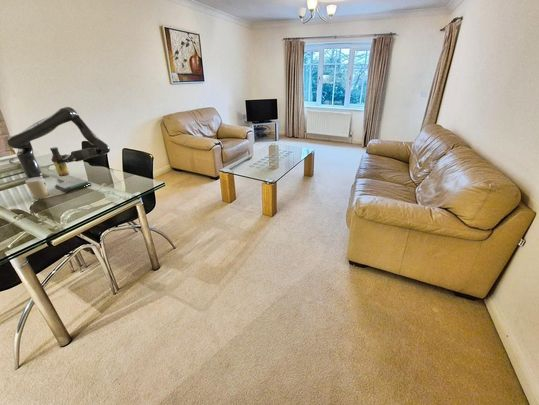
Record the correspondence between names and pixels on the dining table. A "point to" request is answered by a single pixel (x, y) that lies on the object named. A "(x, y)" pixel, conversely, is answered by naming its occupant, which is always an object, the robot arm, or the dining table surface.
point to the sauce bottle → (60, 167)
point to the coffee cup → (37, 187)
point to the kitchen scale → (72, 185)
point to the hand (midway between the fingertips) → (54, 161)
